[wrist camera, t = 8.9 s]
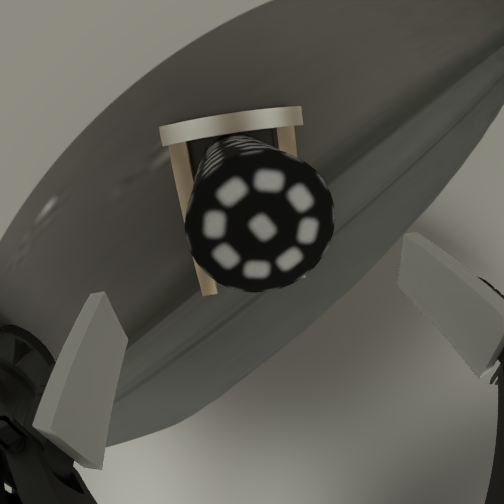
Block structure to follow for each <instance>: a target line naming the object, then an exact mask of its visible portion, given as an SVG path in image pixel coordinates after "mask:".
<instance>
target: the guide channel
mask: <svg viewBox="0 0 504 504" xmlns="http://www.w3.org/2000/svg"><path fill="white" fill-rule="evenodd" d="M296 125H303V119H302V110H301V106H293V107H280V108H269V109H259V110H251V111H243V112H235V113H229V114H222V115H216V116H210V117H204V118H199V119H194V120H188V121H184V122H179V123H174V124H170V125H165V126H161V127H159V130H160V136H161V141H162V146H166V145H168V147H169V152H170V158H171V163H172V168H173V173H174V178H175V183H176V187H177V192H178V197H179V201H180V206H181V210H182V215H183V219H184V223H185V217H186V210H187V206H188V202H189V198H190V195H191V191H192V188H193V184H194V181H195V177H194V171H193V166H192V161H191V155H190V150H189V144H188V141H190V140H195V139H200V138H205V137H211V136H217V135H223V134H229V133H236V132H243V131H250V130H258V129H266V128H272V131H273V139H274V147H275V148H277V149H279V150H281V151H284V152H286V153H288V154H290V155H292V156H295V157H297V150H296V141H295V131H294V126H296ZM193 260H194V264H195V268H196V272H197V276H198V280H199V283H200V287H201V291H202V295H203V296H207V295H213V294H218V292H217V282H216V281H215V280H213V279H212V278H211V277H210V276H208V275H207V274H206V273H205V272H204V271H203V270H202V269H201V268H200V267H199V265H198V264H197V263H196V261H195V259H194V258H193ZM304 277H305V276H304ZM304 277H302V278H304Z"/></svg>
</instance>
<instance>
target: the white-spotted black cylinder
mask: <svg viewBox="0 0 504 504" xmlns="http://www.w3.org/2000/svg"><path fill="white" fill-rule="evenodd" d="M334 223H335V212H334V204H333V200H332V197H331V193H330V191H329V189H328V187H327V185H326V183H325V182H324V180H323V179H322V178H321V176H320V175H319V174H318V173H317V172H316V170H315V169H313V168H312V167H311V166H310V165H308V164H307V163H306V162H304V161H303V160H301V159H299V158H297V157H295V156H292V155H290V154H288V153H286V152H284V151H281V150H279V149H277V148H275V147H272V146H270V145H268V144H265V143H263V142H261V141H258V140H256V139H254V138H251V137H249V136H246V135H242V134H228V135H224V136H221V137H219V138H217V139H216V140H214V141H213V142H212V143H211V144H210V145H209V146H208V147H207V148H206V149H205V151H204V153H203V155H202V158H201V160H200V164H199V167H198V170H197V174H196V177H195V181H194V184H193V188H192V191H191V195H190V198H189V202H188V206H187V210H186V217H185V234H186V240H187V243H188V247H189V250H190V252H191V254H192V256H193V258H194V259H195V261H196V263H197V264H198V265H199V267H200V268H201V269H202V270H203V271H204V272H205V273H206V274H207V275H208V276H210V277H211V278H212V279H213V280H215V281H216V282H218V283H220V284H222V285H224V286H226V287H228V288H232V289H235V290H239V291H245V292H268V291H272V290H276V289H280V288H283V287H285V286H288V285H290V284H292V283H294V282H296V281H297V280H299V279H301V278H302V277H304V276H305V275H306V274H307V273H308V272H310V271H311V270H312V269H313V268H314V267H315V266H316V265H317V263H318V262H319V261H320V260H321V258H322V257H323V255H324V253H325V252H326V250H327V248H328V246H329V244H330V241H331V238H332V235H333V231H334Z"/></svg>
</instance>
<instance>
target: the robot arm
mask: <svg viewBox="0 0 504 504" xmlns="http://www.w3.org/2000/svg"><path fill="white" fill-rule="evenodd" d="M397 285H398V287H399V288H400V289H401V290H402V291H403V292H404V293H405V294H406V295H407V296H408V297H409V298H410V299H411V300H412V301H413V302H414V303H415V304H416V306H417V307H418V308H419V309H420V310H421V311H422V312H423V313H424V314H425V315H426V317H427V318H428V319H429V320H430V321H431V322H432V323H433V324H434V325H435V327H436V328H437V329H438V330H439V331H440V332H441V333H442V335H443V336H444V337H445V338H446V339H447V340H448V341H449V343H450V344H451V345H452V346H453V348H454V349H455V350H456V351H457V352H458V354H459V355H460V356H461V357H462V358H463V360H464V361H465V362H466V363H467V365H468V366H469V367H470V368H471V370H472V371H473V372H474V373H475V375H476V376H477V377H478V378H481V377H482V376H484V375H485V374H487V373H488V372H489V371H491V369H492V368H493V366H494V364H495V362H496V361H497V359H498V360H499V361H500V363H501V364H500V366H499V367H498V369H497V370H496V372H495V373H494V375H493V377H492V378H491V380H490V384H492V383H493V382H494V380H495V379H496V377H497V376H498V379H497V381H496V383H495V385H498V425H497V437H496V446H495V454H494V461H493V467H492V473H491V478H490V484H489V488H488V492H487V497H486V500H485V504H504V296H503V295H501V293H500V292H499V291H498V290H497V289H494V287H493V286H492V285H491V284H489V283H488V282H487V281H486V280H483V279H482V278H480V277H477V276H476V275H474V274H473V273H472V272H471V271H469V270H468V269H467V268H466V267H464V266H463V265H462V264H460V263H459V262H458V261H456V260H455V259H454V258H452V257H451V256H450V255H448V254H447V253H446V252H444V251H443V250H441V249H440V248H439V247H437V246H436V245H435V244H433V243H432V242H430V241H429V240H428V239H426V238H425V237H423V236H422V235H420V234H419V233H417V232H412V233H407V234H404V238H403V247H402V255H401V263H400V270H399V277H398V283H397ZM127 343H128V338H127V336H126V334H125V332H124V330H123V329H122V327H121V325H120V323H119V321H118V318H117V316H116V314H115V312H114V310H113V308H112V306H111V304H110V302H109V299H108V297H107V295H106V293H105V291H103V292H98V293H92V294H90V295H89V297H88V299H87V300H86V302H85V304H84V306H83V308H82V310H81V312H80V314H79V316H78V318H77V319H76V321H75V323H74V325H73V327H72V329H71V331H70V334H69V336H68V338H67V340H66V342H65V344H64V346H63V348H62V350H61V353H60V355H59V357H58V359H57V362H56V364H55V362H54V360H53V358H52V356H51V354H50V353H49V351H48V350H47V349H46V348H45V347H44V345H43V344H42V343H41V342H40V341H39V340H37V339H36V338H35V337H34V336H32V335H31V334H30V333H28V332H27V331H25V330H23V329H21V328H19V327H16V326H10V325H8V326H4V327H3V328H2V329H1V330H0V504H97V502H96V501H95V499H94V498H93V496H92V495H91V493H90V491H89V490H88V489H87V487H86V485H85V483H84V481H83V480H82V478H81V476H80V475H79V473H78V471H77V470H76V469H75V468H74V467H73V463H74V461H76V462H77V463H79V464H80V465H81V466H83V467H85V468H92V469H99V470H102V466H103V458H104V452H105V445H106V439H107V433H108V427H109V422H110V416H111V411H112V406H113V401H114V397H115V392H116V387H117V383H118V379H119V374H120V370H121V366H122V362H123V358H124V354H125V350H126V346H127ZM4 483H5V484H7V485H8V486H10V487H12V493H9V492H8V491H6V490H5V488H4Z"/></svg>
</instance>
